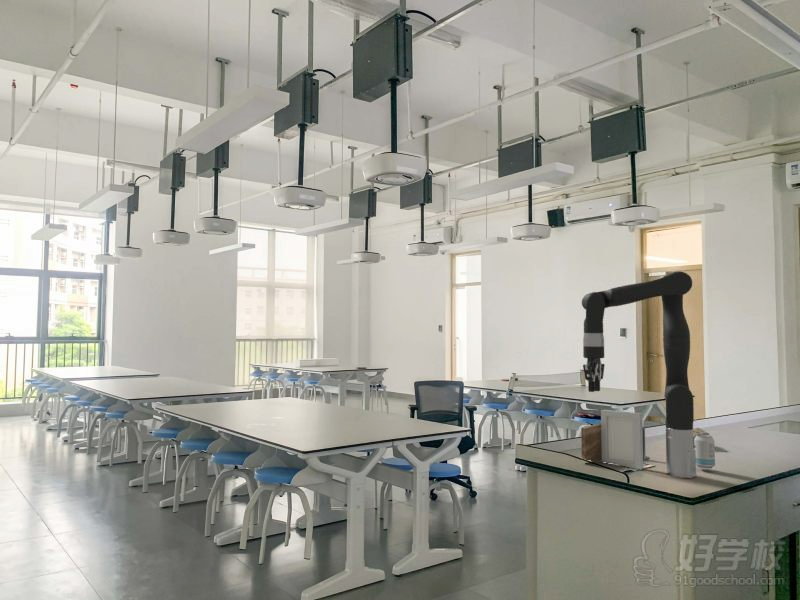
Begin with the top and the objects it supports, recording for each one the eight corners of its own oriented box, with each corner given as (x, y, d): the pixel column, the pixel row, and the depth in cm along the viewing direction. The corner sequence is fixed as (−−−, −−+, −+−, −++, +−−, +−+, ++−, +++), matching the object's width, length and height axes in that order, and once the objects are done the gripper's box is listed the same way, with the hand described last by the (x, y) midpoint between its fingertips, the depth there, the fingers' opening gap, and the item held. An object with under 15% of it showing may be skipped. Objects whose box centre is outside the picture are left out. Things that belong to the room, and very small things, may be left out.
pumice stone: (683, 443, 285) (683, 425, 286) (711, 445, 280) (711, 427, 281) (683, 447, 273) (682, 429, 273) (712, 449, 268) (712, 431, 268)
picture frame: (601, 463, 237) (600, 410, 239) (605, 462, 239) (604, 409, 241) (640, 469, 226) (639, 413, 227) (644, 468, 228) (643, 413, 229)
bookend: (649, 458, 248) (648, 426, 249) (644, 460, 244) (643, 427, 245) (620, 454, 256) (619, 423, 257) (615, 456, 252) (614, 424, 253)
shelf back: (614, 454, 255) (614, 421, 256) (585, 464, 234) (584, 428, 235) (611, 454, 256) (610, 420, 257) (581, 464, 235) (581, 427, 236)
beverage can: (697, 464, 236) (696, 433, 237) (716, 466, 231) (716, 435, 232) (692, 467, 231) (692, 435, 231) (712, 469, 226) (711, 437, 227)
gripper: (595, 345, 219) (595, 393, 218) (611, 345, 230) (611, 390, 228) (575, 345, 224) (576, 391, 223) (592, 345, 235) (593, 389, 234)
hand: (594, 391), depth 226 cm, fingers open, 4 cm apart
